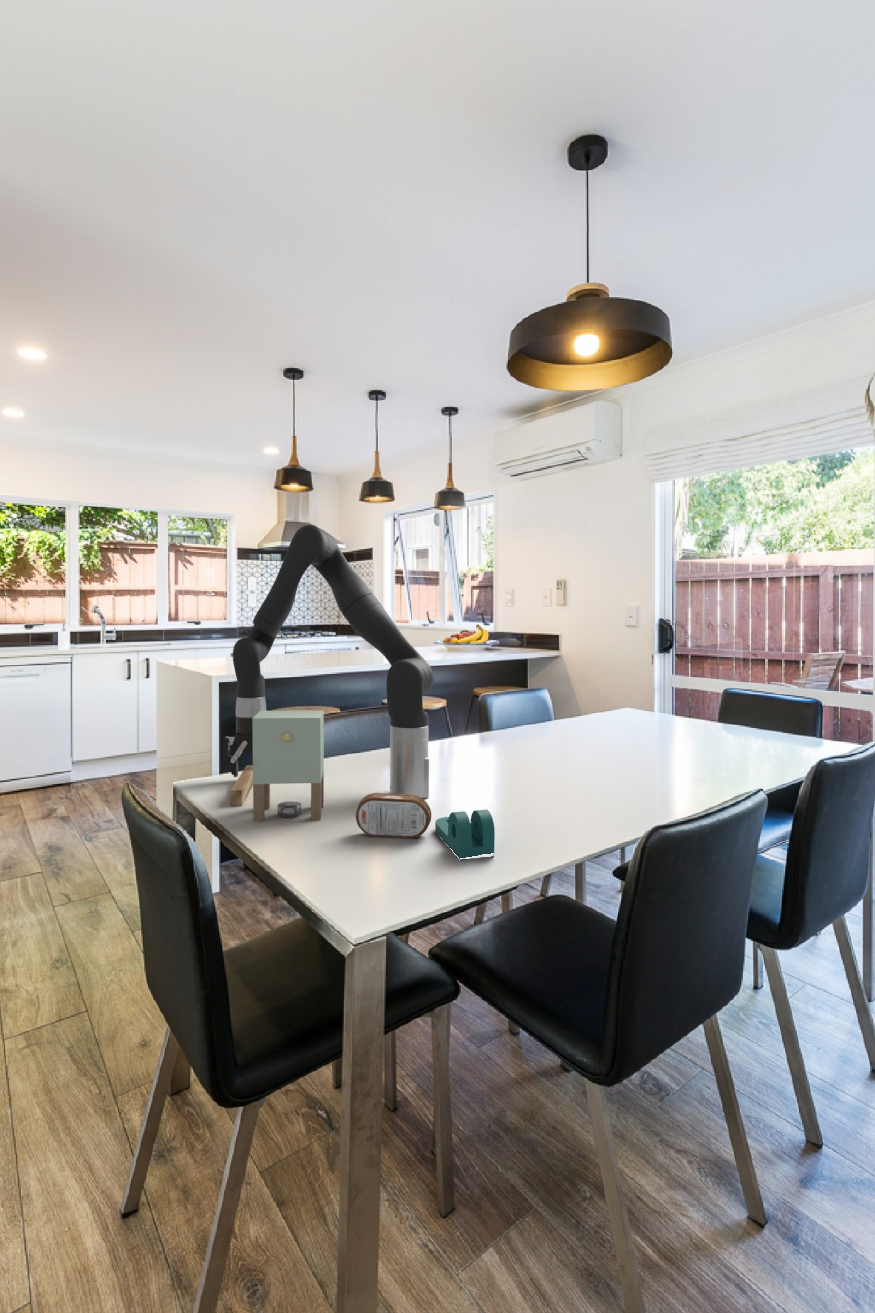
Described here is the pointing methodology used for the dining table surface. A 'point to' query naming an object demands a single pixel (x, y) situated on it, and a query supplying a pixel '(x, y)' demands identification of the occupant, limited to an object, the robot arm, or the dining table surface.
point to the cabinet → (288, 756)
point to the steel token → (289, 809)
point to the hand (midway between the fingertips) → (251, 776)
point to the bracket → (467, 833)
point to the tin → (393, 815)
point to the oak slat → (242, 787)
